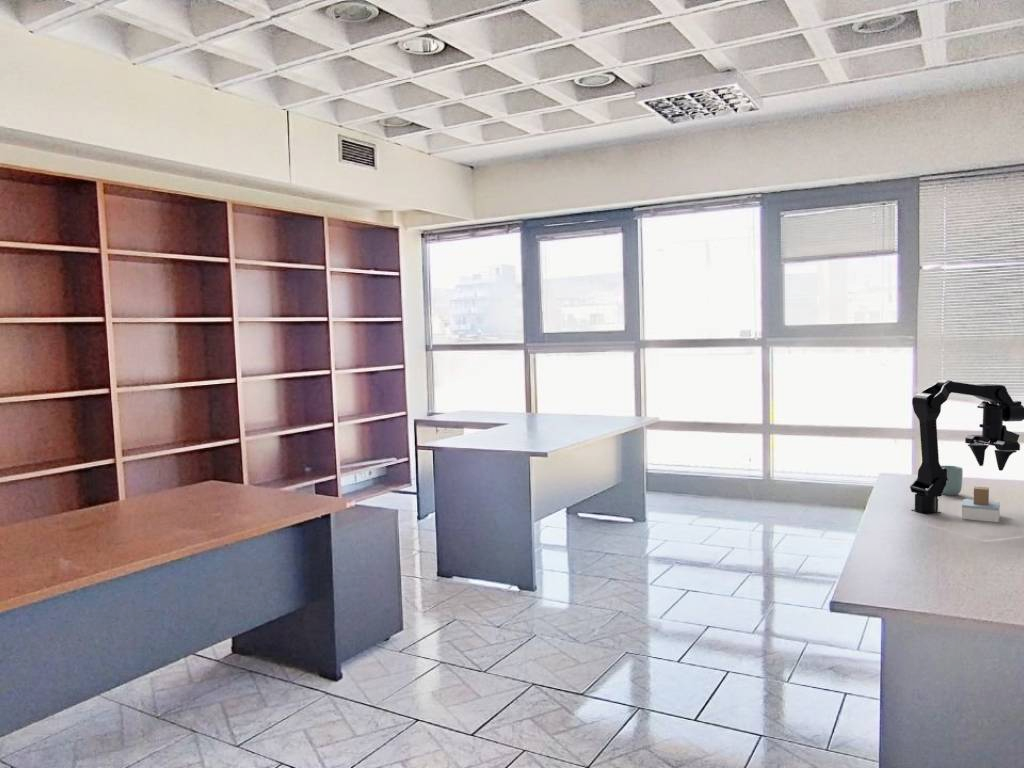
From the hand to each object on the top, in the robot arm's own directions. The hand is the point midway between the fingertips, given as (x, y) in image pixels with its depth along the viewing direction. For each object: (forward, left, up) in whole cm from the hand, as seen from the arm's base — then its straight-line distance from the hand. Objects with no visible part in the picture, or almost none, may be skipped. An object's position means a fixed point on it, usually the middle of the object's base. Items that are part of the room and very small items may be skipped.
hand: (990, 468), depth 262 cm
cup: (+6, +22, -14) cm, 27 cm away
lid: (-14, -10, -10) cm, 20 cm away
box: (-14, -10, -14) cm, 22 cm away
